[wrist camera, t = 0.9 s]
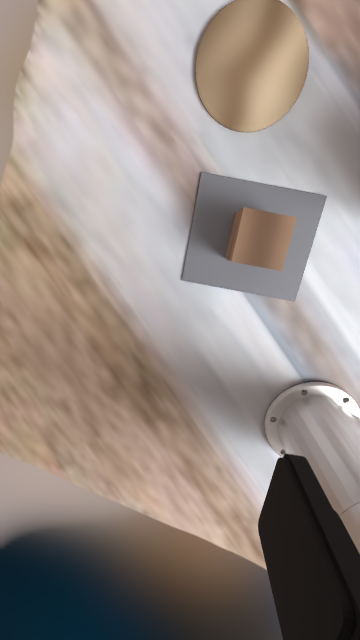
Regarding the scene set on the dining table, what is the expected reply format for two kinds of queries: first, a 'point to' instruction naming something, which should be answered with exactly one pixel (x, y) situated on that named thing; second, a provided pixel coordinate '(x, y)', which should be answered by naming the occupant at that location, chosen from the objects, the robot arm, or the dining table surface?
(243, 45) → the coaster
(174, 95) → the dining table surface
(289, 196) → the gray tile
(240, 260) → the walnut block
